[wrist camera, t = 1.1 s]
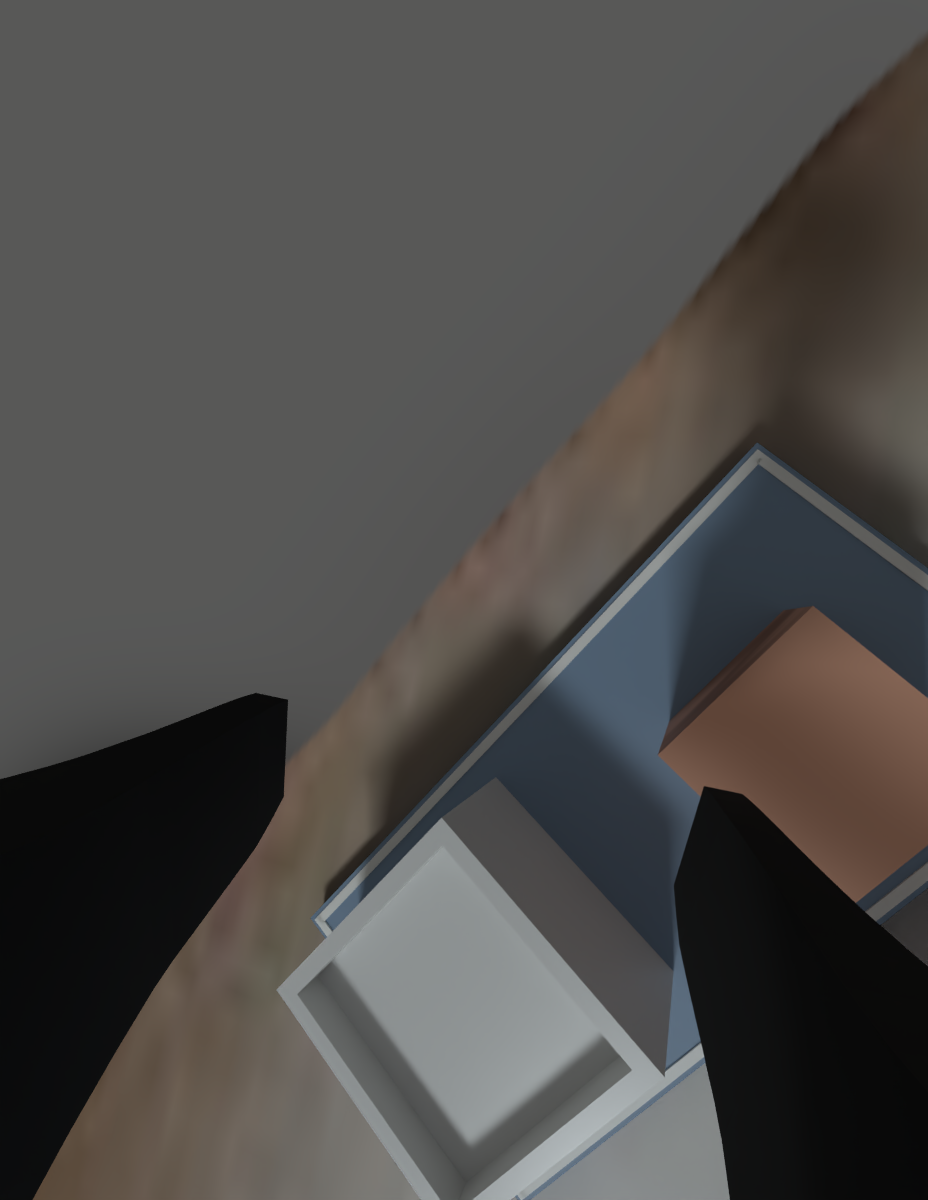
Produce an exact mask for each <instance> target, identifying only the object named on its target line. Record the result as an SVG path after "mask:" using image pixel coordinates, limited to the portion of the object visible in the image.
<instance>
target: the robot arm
mask: <svg viewBox="0 0 928 1200" xmlns="http://www.w3.org/2000/svg"><path fill="white" fill-rule="evenodd" d="M287 710H288V700H287V699H281V698H277V697H272V696H268V695H263V694H258V693H254V694H251V695H247V696H244V697H241V698H238V699H235V700H233V701H230V702H227V703H224V704H222V705H219V706H217V707H214V708H212V709H209V710H206V711H204V712H201V713H199V714H196V715H194V716H191V717H189V718H186V719H184V720H181V721H178V722H176V723H173V724H171V725H168V726H165V727H163V728H160V729H158V730H155V731H152V732H150V733H147V734H145V735H142V736H139V737H136V738H133V739H130V740H127V741H124V742H121V743H119V744H116V745H113V746H110V747H107V748H104V749H101V750H99V751H96V752H93V753H90V754H87V755H84V756H81V757H78V758H75V759H71V760H68V761H65V762H61V763H58V764H55V765H51V766H48V767H44V768H41V769H37V770H34V771H29V772H26V773H22V774H18V775H15V776H11V777H7V778H4V779H0V1200H33V1198H34V1196H35V1194H36V1192H37V1190H38V1189H39V1187H40V1185H41V1183H42V1181H43V1179H44V1178H45V1176H46V1174H47V1172H48V1170H49V1168H50V1167H51V1165H52V1163H53V1161H54V1159H55V1158H56V1156H57V1154H58V1152H59V1150H60V1148H61V1147H62V1145H63V1143H64V1141H65V1139H66V1137H67V1136H68V1134H69V1132H70V1130H71V1128H72V1127H73V1125H74V1123H75V1121H76V1120H77V1118H78V1116H79V1114H80V1113H81V1111H82V1109H83V1108H84V1106H85V1104H86V1102H87V1101H88V1099H89V1097H90V1095H91V1094H92V1092H93V1090H94V1088H95V1087H96V1085H97V1083H98V1081H99V1080H100V1078H101V1076H102V1075H103V1073H104V1071H105V1069H106V1068H107V1066H108V1064H109V1062H110V1061H111V1059H112V1057H113V1055H114V1054H115V1052H116V1050H117V1049H118V1047H119V1045H120V1044H121V1042H122V1040H123V1039H124V1037H125V1035H126V1034H127V1032H128V1031H129V1029H130V1027H131V1026H132V1024H133V1022H134V1021H135V1019H136V1017H137V1016H138V1014H139V1012H140V1011H141V1009H142V1007H143V1006H144V1004H145V1002H146V1001H147V999H148V997H149V996H150V994H151V992H152V991H153V989H154V988H155V986H156V985H157V983H158V982H159V980H160V979H161V977H162V976H163V974H164V973H165V971H166V970H167V968H168V967H169V966H170V964H171V963H172V961H173V960H174V958H175V957H176V956H177V954H178V953H179V951H180V950H181V949H182V947H183V946H184V945H185V943H186V942H187V941H188V939H189V938H190V937H191V935H192V934H193V933H194V931H195V930H196V928H197V927H198V926H199V924H200V923H201V922H202V920H203V919H204V918H205V916H206V915H207V914H208V912H209V911H210V909H211V908H212V907H213V905H214V904H215V903H216V901H217V900H218V899H219V897H220V896H221V895H222V893H223V892H224V891H225V889H226V888H227V886H228V885H229V884H230V882H231V881H232V880H233V878H234V877H235V875H236V874H237V873H238V871H239V870H240V869H241V867H242V866H243V864H244V863H245V862H246V860H247V859H248V858H249V856H250V855H251V853H252V852H253V850H254V849H255V848H256V846H257V845H258V843H259V841H260V839H261V837H262V836H263V834H264V832H265V830H266V829H267V827H268V825H269V823H270V822H271V820H272V818H273V816H274V814H275V812H276V810H277V808H278V806H279V805H280V803H281V801H282V799H283V797H284V777H285V754H286V731H287ZM674 896H675V908H676V919H677V929H678V938H679V947H680V951H681V956H682V961H683V966H684V970H685V975H686V979H687V984H688V988H689V993H690V997H691V1001H692V1006H693V1010H694V1015H695V1019H696V1023H697V1028H698V1032H699V1036H700V1041H701V1045H702V1049H703V1054H704V1058H705V1062H706V1067H707V1071H708V1076H709V1080H710V1084H711V1089H712V1093H713V1097H714V1102H715V1107H716V1112H717V1117H718V1123H719V1128H720V1133H721V1138H722V1144H723V1151H724V1159H725V1166H726V1173H727V1181H728V1188H729V1195H730V1200H928V966H927V965H925V964H924V963H923V962H922V961H921V960H919V959H918V958H917V957H916V956H915V955H913V954H912V953H911V952H910V951H909V950H908V949H906V948H905V947H904V946H903V945H902V944H901V943H900V942H899V941H897V940H896V939H895V938H894V937H893V936H892V935H891V934H890V933H888V932H887V931H886V930H885V929H884V928H883V927H882V926H881V925H879V924H878V923H877V922H876V921H875V920H874V919H873V918H872V917H870V916H869V915H868V914H867V913H866V912H865V911H864V910H863V909H862V908H861V907H859V906H858V905H857V904H856V903H855V902H854V901H853V900H852V899H851V898H850V897H849V896H848V895H847V894H846V893H844V892H843V891H842V890H841V889H840V888H839V887H838V886H837V885H836V884H835V883H834V882H833V881H832V880H831V879H830V878H829V877H828V876H827V875H826V874H825V873H824V872H823V871H822V870H821V869H820V868H819V867H818V866H816V865H815V864H814V863H813V862H812V861H811V860H810V859H809V858H808V857H807V856H806V855H805V854H804V853H803V852H802V851H801V850H800V849H799V848H798V847H797V846H796V845H795V844H794V843H793V842H792V841H791V840H790V839H789V838H788V837H787V836H786V835H785V834H784V833H783V832H782V831H781V830H780V829H779V828H778V827H777V826H776V825H775V824H774V823H773V822H772V821H771V820H770V819H769V818H768V817H767V816H766V815H765V814H764V813H763V812H762V811H761V810H760V809H759V808H758V807H757V806H756V805H755V804H754V803H752V802H751V801H750V800H749V799H748V798H747V797H746V796H744V795H743V794H741V793H736V792H731V791H726V790H721V789H716V788H712V787H707V786H704V787H703V791H702V794H701V797H700V801H699V804H698V807H697V810H696V814H695V817H694V820H693V823H692V827H691V830H690V833H689V837H688V840H687V843H686V846H685V850H684V853H683V856H682V859H681V863H680V866H679V869H678V873H677V876H676V879H675V882H674Z"/></svg>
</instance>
